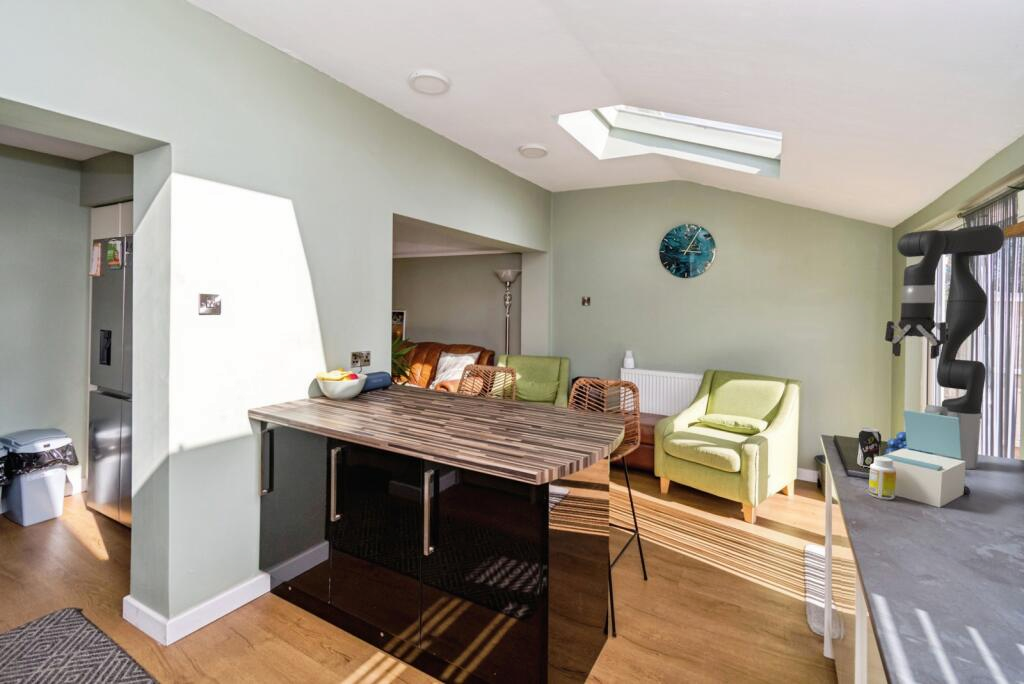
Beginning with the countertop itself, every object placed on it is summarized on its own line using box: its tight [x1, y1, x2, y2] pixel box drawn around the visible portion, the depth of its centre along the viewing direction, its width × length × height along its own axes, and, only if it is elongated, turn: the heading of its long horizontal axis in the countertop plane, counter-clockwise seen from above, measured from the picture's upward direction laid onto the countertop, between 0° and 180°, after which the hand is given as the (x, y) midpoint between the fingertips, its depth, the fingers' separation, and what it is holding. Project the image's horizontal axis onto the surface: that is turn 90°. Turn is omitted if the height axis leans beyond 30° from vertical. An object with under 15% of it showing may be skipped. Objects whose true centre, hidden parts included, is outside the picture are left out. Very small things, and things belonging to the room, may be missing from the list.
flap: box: [902, 404, 962, 459], centre depth 137 cm, size 12×12×6 cm
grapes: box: [885, 431, 934, 455], centre depth 153 cm, size 12×7×12 cm, turn 44°
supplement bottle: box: [868, 455, 896, 501], centre depth 130 cm, size 6×6×10 cm
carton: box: [880, 448, 966, 508], centre depth 133 cm, size 16×14×10 cm
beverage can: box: [856, 427, 882, 469], centre depth 154 cm, size 6×6×12 cm
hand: (914, 357), depth 144 cm, fingers open, 8 cm apart
